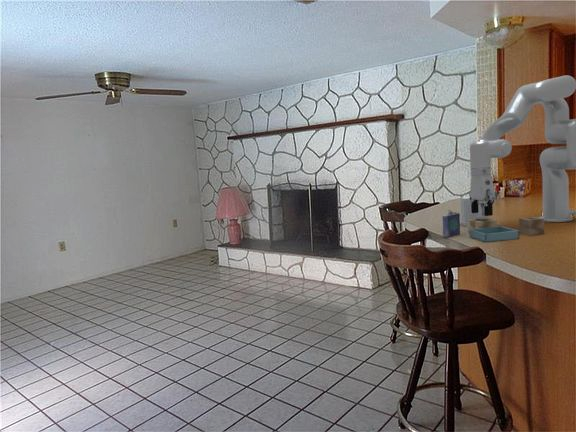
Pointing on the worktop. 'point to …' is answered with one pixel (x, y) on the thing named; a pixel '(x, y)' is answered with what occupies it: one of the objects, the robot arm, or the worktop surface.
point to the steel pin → (481, 212)
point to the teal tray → (494, 234)
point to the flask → (451, 224)
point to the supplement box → (467, 210)
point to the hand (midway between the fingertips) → (481, 214)
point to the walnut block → (531, 226)
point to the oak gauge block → (481, 223)
